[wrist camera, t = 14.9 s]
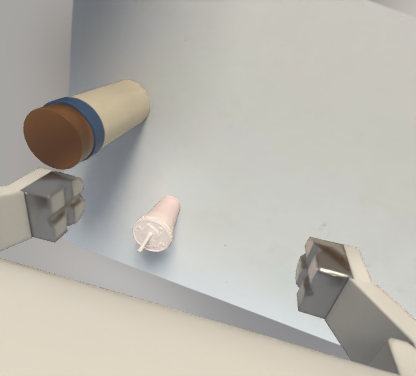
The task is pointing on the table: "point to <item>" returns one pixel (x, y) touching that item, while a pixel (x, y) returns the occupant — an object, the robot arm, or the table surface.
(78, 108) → the bottle
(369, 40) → the table surface
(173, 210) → the smoothie
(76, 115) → the brown lid
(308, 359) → the robot arm
